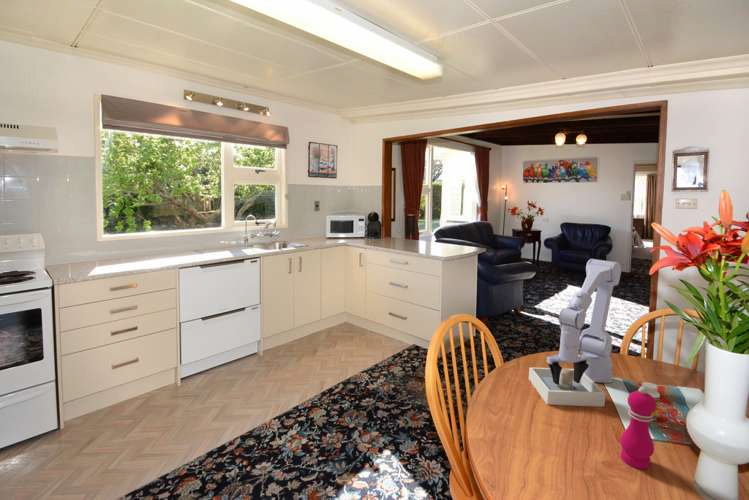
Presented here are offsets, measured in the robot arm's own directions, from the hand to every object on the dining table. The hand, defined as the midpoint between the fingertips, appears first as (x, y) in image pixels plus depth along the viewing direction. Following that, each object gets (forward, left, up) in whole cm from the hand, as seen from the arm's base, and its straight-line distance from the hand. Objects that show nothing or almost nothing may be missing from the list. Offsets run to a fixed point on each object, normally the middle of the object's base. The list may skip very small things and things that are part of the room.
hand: (566, 382), depth 138 cm
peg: (0, 0, -3) cm, 3 cm away
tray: (0, -1, -4) cm, 4 cm away
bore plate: (0, 0, -4) cm, 4 cm away
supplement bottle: (-19, +13, -4) cm, 23 cm away
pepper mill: (-3, +35, -4) cm, 35 cm away
